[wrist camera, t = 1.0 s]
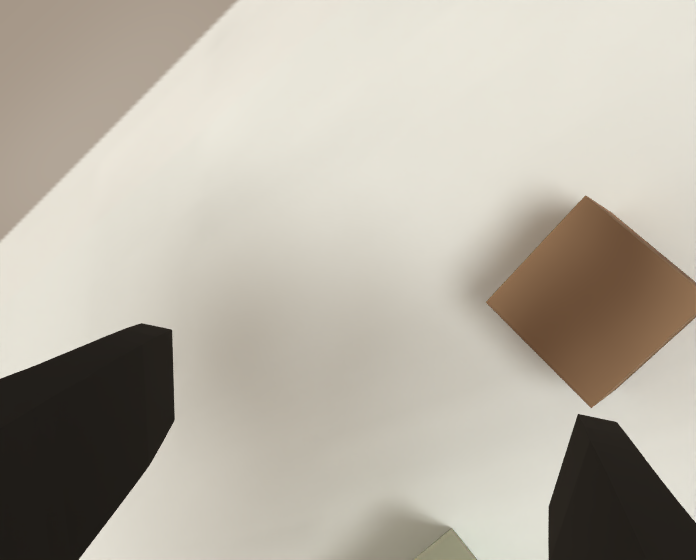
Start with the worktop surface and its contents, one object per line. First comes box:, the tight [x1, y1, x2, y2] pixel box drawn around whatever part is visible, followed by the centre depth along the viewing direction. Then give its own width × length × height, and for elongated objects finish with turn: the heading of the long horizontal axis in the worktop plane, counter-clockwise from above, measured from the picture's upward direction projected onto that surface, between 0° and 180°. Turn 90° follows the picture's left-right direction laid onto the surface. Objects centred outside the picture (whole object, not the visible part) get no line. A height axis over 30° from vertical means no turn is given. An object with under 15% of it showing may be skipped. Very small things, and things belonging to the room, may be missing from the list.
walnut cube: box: [486, 195, 696, 408], centre depth 21 cm, size 4×4×4 cm
